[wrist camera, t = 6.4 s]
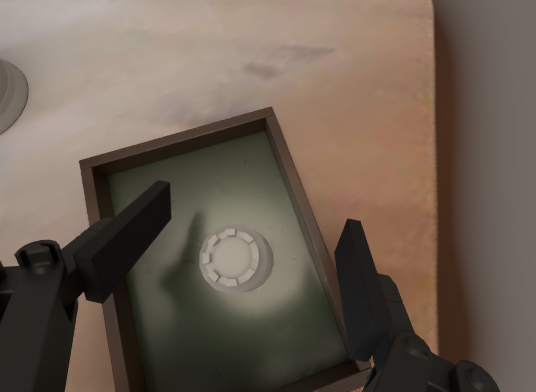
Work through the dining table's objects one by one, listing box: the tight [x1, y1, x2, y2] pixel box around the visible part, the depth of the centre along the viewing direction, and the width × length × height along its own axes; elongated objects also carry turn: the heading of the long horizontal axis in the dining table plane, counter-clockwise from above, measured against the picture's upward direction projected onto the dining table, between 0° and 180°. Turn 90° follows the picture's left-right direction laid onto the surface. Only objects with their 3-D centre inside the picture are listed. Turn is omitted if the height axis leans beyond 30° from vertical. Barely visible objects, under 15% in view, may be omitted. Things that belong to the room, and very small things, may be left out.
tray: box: [79, 107, 372, 392], centre depth 18 cm, size 20×15×2 cm
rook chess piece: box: [199, 224, 274, 293], centre depth 15 cm, size 4×4×8 cm
